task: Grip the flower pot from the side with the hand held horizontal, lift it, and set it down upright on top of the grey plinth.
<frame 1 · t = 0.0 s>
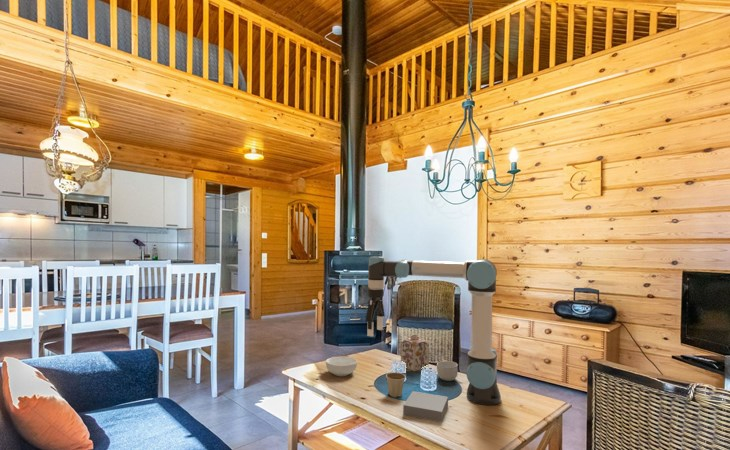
hand: (375, 332, 183), 28 cm above the table, tool pointing down, fingers open, 13 cm apart
teacup: (446, 378, 203), on the table
flower pot: (395, 394, 180), on the table
cereal bowl: (341, 374, 207), on the table
plinth: (426, 410, 164), on the table
decorative jar: (414, 367, 219), on the table
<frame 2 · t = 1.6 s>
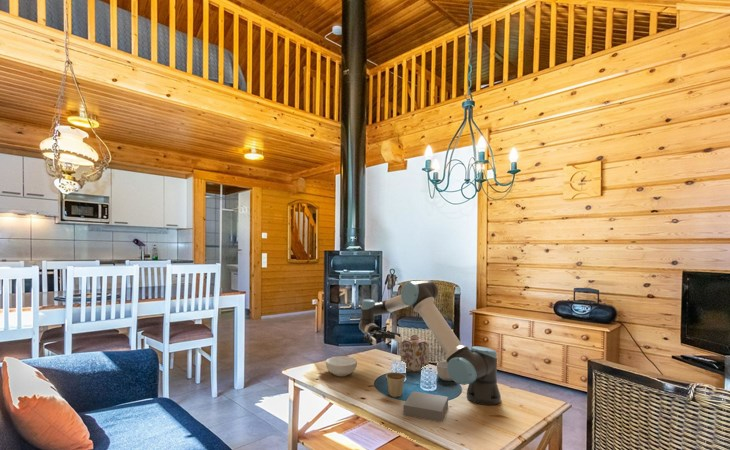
hand: (388, 341, 190), 22 cm above the table, tool horizontal, fingers open, 13 cm apart
nothing on the table moved.
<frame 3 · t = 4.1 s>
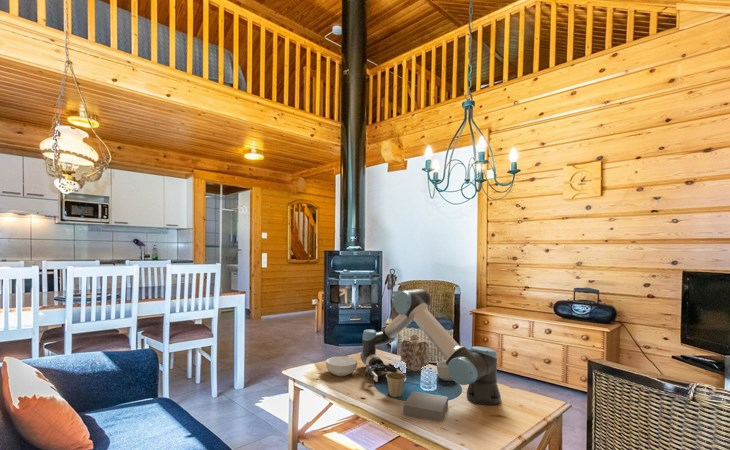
hand: (389, 377, 186), 6 cm above the table, tool horizontal, fingers open, 13 cm apart
nothing on the table moved.
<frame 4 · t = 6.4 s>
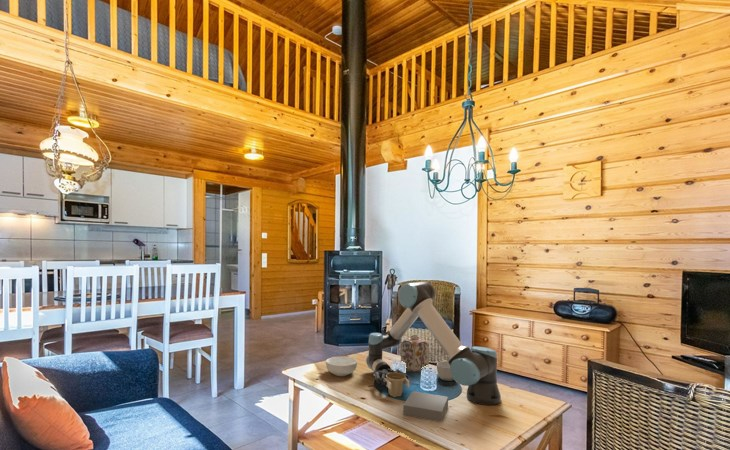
hand: (399, 385, 176), 6 cm above the table, tool horizontal, fingers closed on flower pot, 8 cm apart
flower pot: (395, 394, 180), on the table, touching gripper
everything else where it was.
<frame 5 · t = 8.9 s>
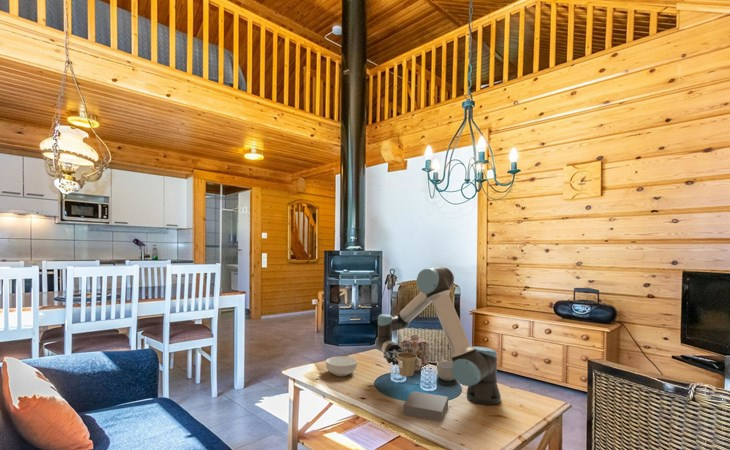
hand: (411, 364, 169), 18 cm above the table, tool horizontal, fingers closed on flower pot, 8 cm apart
flower pot: (406, 374, 173), point 12 cm above the table, touching gripper
everything else where it was.
when the fingers open (11 cm above the table, at t = 11.6 s): flower pot drops 1 cm, point 4 cm above the table.
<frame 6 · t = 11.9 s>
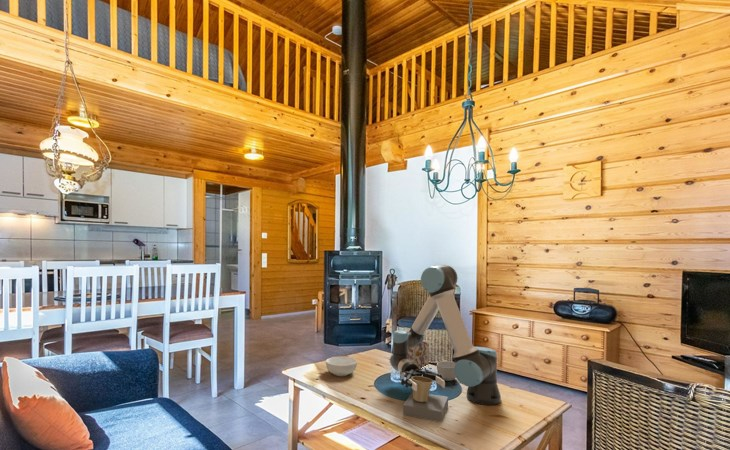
hand: (430, 386, 161), 11 cm above the table, tool horizontal, fingers open, 12 cm apart
flower pot: (420, 400, 164), point 4 cm above the table, touching gripper
everything else where it was.
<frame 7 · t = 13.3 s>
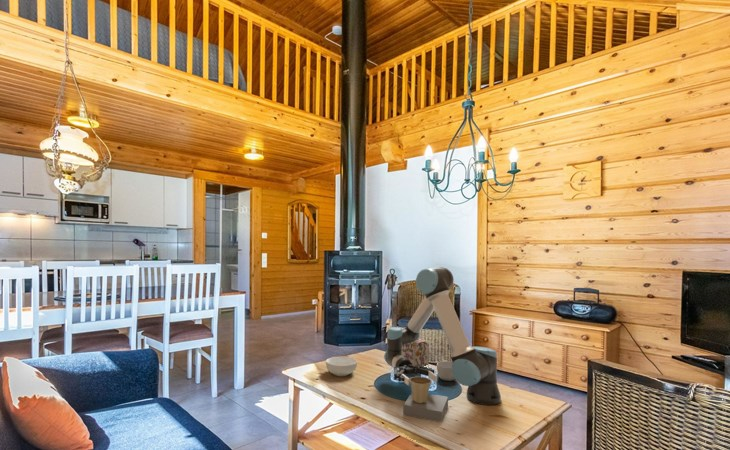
hand: (422, 380, 166), 12 cm above the table, tool horizontal, fingers open, 13 cm apart
flower pot: (419, 401, 164), point 4 cm above the table, touching plinth
everything else where it was.
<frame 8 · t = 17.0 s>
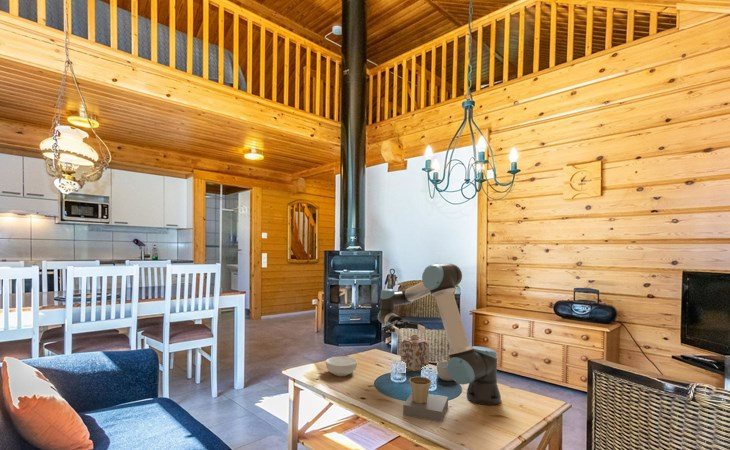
hand: (411, 331, 180), 30 cm above the table, tool horizontal, fingers open, 13 cm apart
nothing on the table moved.
at the end: flower pot inside the target area on the plinth (2.7 cm from its centre), point 3.8 cm above the plinth's base; flower pot tilted 0°; the gripper is holding nothing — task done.
